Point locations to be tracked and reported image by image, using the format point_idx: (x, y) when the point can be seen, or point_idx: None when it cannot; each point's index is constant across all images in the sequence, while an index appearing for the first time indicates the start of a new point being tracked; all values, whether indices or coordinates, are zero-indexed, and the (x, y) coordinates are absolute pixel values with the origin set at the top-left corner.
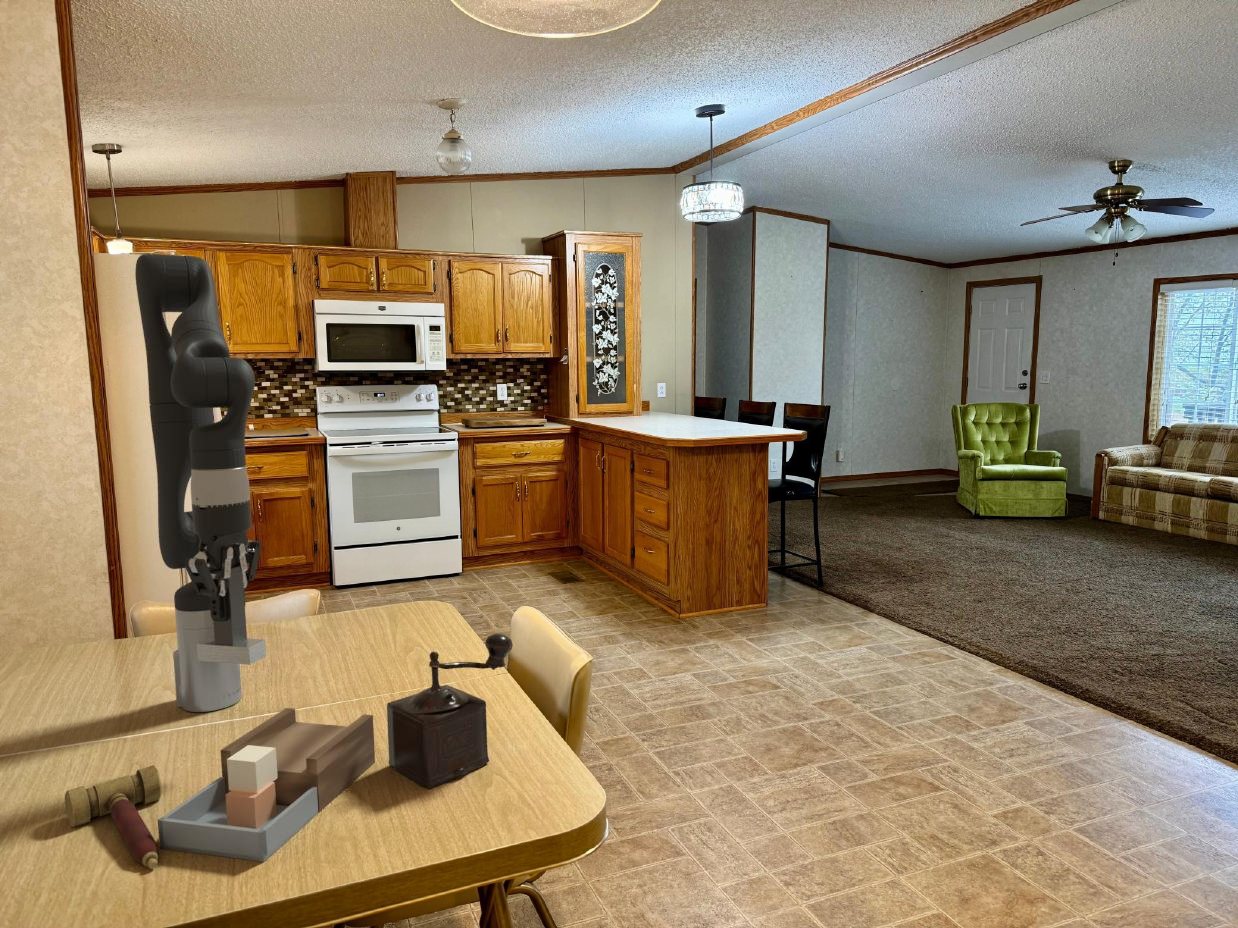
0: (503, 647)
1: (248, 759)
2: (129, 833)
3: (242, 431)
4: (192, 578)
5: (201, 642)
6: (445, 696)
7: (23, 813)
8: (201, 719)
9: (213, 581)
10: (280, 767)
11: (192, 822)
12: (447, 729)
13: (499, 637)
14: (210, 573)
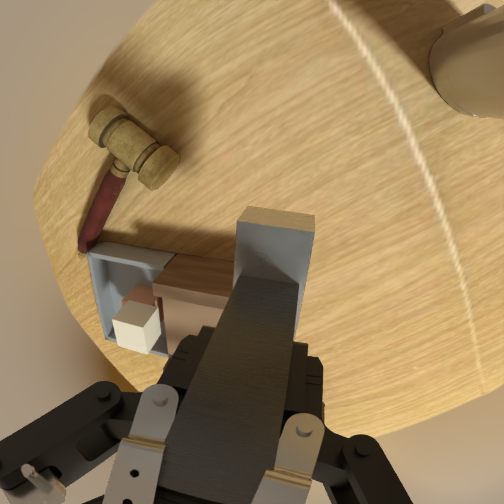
0: None
1: (119, 338)
2: (85, 222)
3: None
4: (39, 425)
5: (251, 227)
6: None
7: (122, 52)
8: (408, 84)
9: (103, 458)
10: (172, 334)
11: (94, 283)
12: None
13: None
14: (78, 477)
